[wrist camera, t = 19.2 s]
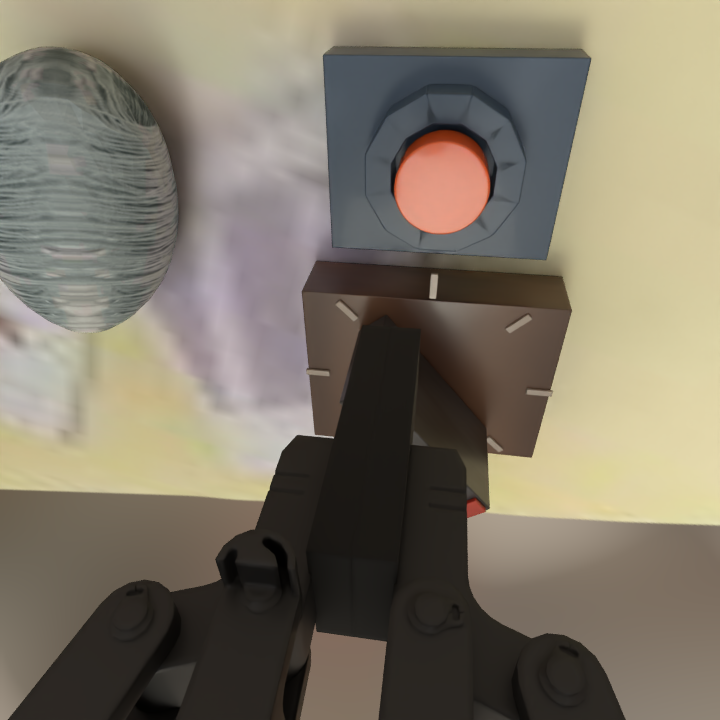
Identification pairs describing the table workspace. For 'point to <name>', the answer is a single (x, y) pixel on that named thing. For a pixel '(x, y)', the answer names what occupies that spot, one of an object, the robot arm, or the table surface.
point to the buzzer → (459, 113)
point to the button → (442, 182)
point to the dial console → (445, 338)
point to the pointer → (446, 426)
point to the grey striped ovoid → (81, 190)
